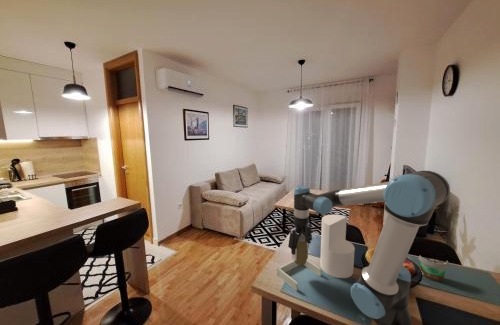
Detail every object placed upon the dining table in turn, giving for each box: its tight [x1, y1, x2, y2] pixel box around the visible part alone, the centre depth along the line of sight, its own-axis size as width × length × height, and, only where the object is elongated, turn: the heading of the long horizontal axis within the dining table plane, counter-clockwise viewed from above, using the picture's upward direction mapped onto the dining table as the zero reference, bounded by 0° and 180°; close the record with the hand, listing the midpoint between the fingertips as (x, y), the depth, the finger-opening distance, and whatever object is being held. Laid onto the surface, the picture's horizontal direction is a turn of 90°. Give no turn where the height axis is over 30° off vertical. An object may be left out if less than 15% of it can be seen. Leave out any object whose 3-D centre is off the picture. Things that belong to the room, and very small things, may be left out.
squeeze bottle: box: [293, 233, 309, 266], centre depth 109 cm, size 8×8×18 cm
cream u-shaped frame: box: [276, 259, 323, 292], centre depth 111 cm, size 14×19×4 cm
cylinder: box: [319, 214, 356, 279], centre depth 115 cm, size 17×17×28 cm
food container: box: [417, 255, 450, 283], centre depth 107 cm, size 12×6×10 cm, turn 65°
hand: (300, 256), depth 110 cm, fingers closed on squeeze bottle, 8 cm apart
